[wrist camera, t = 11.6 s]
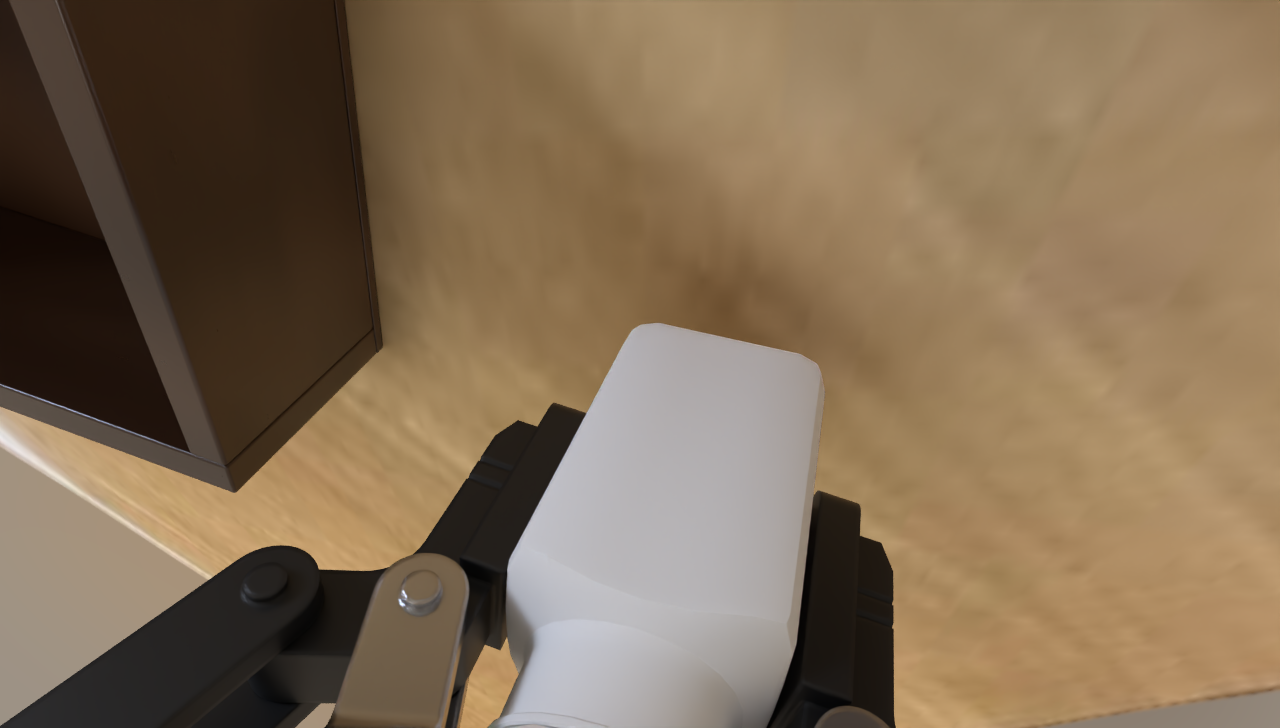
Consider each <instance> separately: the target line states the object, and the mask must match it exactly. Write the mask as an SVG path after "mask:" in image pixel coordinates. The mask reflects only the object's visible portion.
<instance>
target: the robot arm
mask: <svg viewBox="0 0 1280 728" xmlns="http://www.w3.org/2000/svg"><path fill="white" fill-rule="evenodd" d="M585 415H586V413H584V412H581V411H578V410H575V409H572V408H569V407H566V406H563V405H560V404H557V403H553V404H552V405H551V406H550V407H549V409H548V410H547V412H546V414H545V415H544V417H543V419H542V420H541V422H540V424H539V425H538V427H537V426H534V425H531V424H528V423H525V422H522V421H519V420H518V421H516V422H515V423H513V424H512V425H510V426H509V427H507V428H506V429H504V430H503V431H501V432H500V433H498V434H497V435H495V437H494V438H493V440H492V441H491V443H490V444H489V446H488V447H487V449H486V450H485V452H484V453H483V455H482V456H481V460H480V461H478V462H477V464H476V465H475V467H474V468H473V470H472V471H471V473H470V475H469V478H468V479H466V480H465V482H464V484H463V485H462V487H461V488H460V490H459V491H458V493H457V494H456V496H455V497H454V499H453V500H452V502H451V503H450V505H449V506H448V508H447V509H446V511H445V512H444V514H443V515H442V517H441V518H440V520H439V521H438V523H437V524H436V526H435V527H434V529H433V530H432V532H431V533H430V535H429V536H428V538H427V539H426V541H425V542H424V543H423V545H422V546H421V547H420V548H419V549H418V550H417V551H416V552H415V553H414V554H413V555H411V556H407V557H405V558H403V559H400V560H399V561H397V562H395V563H394V564H392V565H391V566H390V567H388V568H384V569H380V570H374V571H346V570H319V569H318V565H317V563H316V562H315V560H314V559H313V558H312V557H311V555H310V554H308V553H307V552H305V551H304V550H301V549H299V548H296V547H292V546H282V545H280V546H270V547H265V548H261V549H258V550H255V551H253V552H251V553H249V554H246V555H245V556H243V557H241V558H240V559H238V560H237V561H235V562H234V563H232V564H231V565H230V566H228V567H227V568H225V569H224V570H222V571H221V572H220V573H218V574H217V575H215V576H214V577H212V578H211V579H210V580H208V581H207V582H205V583H204V584H202V585H201V586H200V587H198V588H197V589H195V590H194V591H193V592H191V593H190V594H188V595H187V596H185V597H184V598H183V599H181V600H180V601H178V602H177V603H175V604H174V605H173V606H171V607H170V608H168V609H167V610H166V611H164V612H162V613H161V614H160V615H158V616H157V617H155V618H154V619H152V620H151V621H150V622H148V623H147V624H145V625H144V626H143V627H141V628H140V629H138V630H137V631H135V632H134V633H133V634H131V635H130V636H128V637H127V638H125V639H124V640H122V641H121V642H120V643H118V644H117V645H115V646H114V647H112V648H111V649H110V650H108V651H107V652H105V653H104V654H103V655H101V656H100V657H98V658H97V659H95V660H94V661H92V662H91V663H90V664H88V665H87V666H85V667H84V668H82V669H81V670H80V671H78V672H77V673H75V674H74V675H72V676H71V677H70V678H68V679H67V680H65V681H64V682H63V683H61V684H60V685H58V686H57V687H55V688H54V689H53V690H51V691H50V692H48V693H47V694H45V695H44V696H43V697H41V698H40V699H38V700H37V701H35V702H34V703H32V704H31V705H30V706H28V707H27V708H25V709H24V710H22V711H21V712H20V713H18V714H17V715H16V716H14V717H13V718H11V719H10V720H8V721H7V722H6V723H4V724H2V725H1V726H0V728H295V727H296V726H297V725H298V724H299V723H300V722H301V721H302V720H303V719H305V718H306V717H307V716H308V715H309V714H310V713H311V712H312V711H313V710H314V709H315V708H316V707H317V706H318V705H319V704H321V703H336V705H335V708H334V711H333V713H332V716H331V719H330V720H329V722H328V724H327V725H326V727H325V728H460V723H461V718H462V713H463V708H464V703H465V697H466V692H467V687H468V682H469V675H470V673H471V671H472V669H473V667H474V665H475V663H476V661H477V659H478V657H479V655H480V653H481V651H482V649H483V647H484V645H488V646H490V647H493V648H496V649H498V650H501V648H502V646H503V644H504V642H505V640H506V637H507V625H506V588H507V568H508V563H509V559H510V557H511V555H512V553H513V551H514V549H515V548H516V546H517V544H518V542H519V540H520V538H521V536H522V534H523V532H524V531H525V529H526V527H527V525H528V523H529V521H530V519H531V517H532V515H533V514H534V512H535V510H536V508H537V506H538V504H539V502H540V500H541V498H542V497H543V495H544V493H545V491H546V489H547V487H548V485H549V483H550V481H551V480H552V478H553V476H554V474H555V472H556V470H557V468H558V466H559V464H560V463H561V461H562V459H563V457H564V455H565V453H566V451H567V449H568V447H569V446H570V444H571V442H572V440H573V438H574V436H575V434H576V432H577V430H578V428H579V427H580V425H581V423H582V421H583V419H584V417H585ZM860 518H861V509H860V505H859V504H858V503H855V502H852V501H849V500H846V499H843V498H840V497H837V496H834V495H831V494H828V493H825V492H822V491H817V492H816V493H815V495H814V497H813V503H812V512H811V520H810V529H809V538H808V547H807V555H806V564H805V573H804V582H803V590H802V599H801V608H800V616H799V625H798V634H797V643H796V647H795V650H794V653H793V657H792V660H791V663H790V666H789V669H788V672H787V675H786V679H785V682H784V685H783V688H782V690H781V693H780V696H779V699H778V701H777V704H776V707H775V709H774V712H773V714H772V716H771V718H770V721H769V723H768V725H767V727H766V728H896V726H895V721H894V634H893V629H892V625H893V605H892V602H893V570H892V568H891V565H890V563H889V560H888V558H887V556H886V553H885V551H884V548H883V546H882V544H881V543H880V542H877V541H874V540H871V539H868V538H865V537H862V536H860Z"/></svg>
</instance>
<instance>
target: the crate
mask: <svg viewBox="0 0 1280 728" xmlns="http://www.w3.org/2000/svg"><path fill="white" fill-rule="evenodd" d="M381 349H382V339H381V330H380V321H379V312H378V303H377V294H376V286H375V277H374V268H373V259H372V250H371V241H370V232H369V223H368V214H367V205H366V196H365V188H364V179H363V170H362V161H361V152H360V143H359V134H358V125H357V116H356V107H355V98H354V89H353V81H352V72H351V63H350V54H349V45H348V36H347V27H346V18H345V9H344V0H0V407H3V408H6V409H8V410H11V411H14V412H17V413H19V414H22V415H25V416H27V417H30V418H33V419H35V420H38V421H41V422H44V423H46V424H49V425H52V426H54V427H57V428H60V429H63V430H65V431H68V432H71V433H73V434H76V435H79V436H82V437H84V438H87V439H90V440H92V441H95V442H98V443H100V444H103V445H106V446H109V447H111V448H114V449H117V450H119V451H122V452H125V453H128V454H130V455H133V456H136V457H138V458H141V459H144V460H147V461H149V462H152V463H155V464H157V465H160V466H163V467H166V468H168V469H171V470H174V471H176V472H179V473H182V474H184V475H187V476H190V477H193V478H195V479H198V480H201V481H203V482H206V483H209V484H212V485H214V486H217V487H220V488H222V489H225V490H228V491H231V492H233V493H235V492H237V491H238V490H239V489H240V488H241V487H242V486H243V485H244V484H245V483H246V482H247V481H248V480H249V479H250V478H251V477H252V476H253V475H254V474H255V473H256V472H257V471H258V470H259V469H260V468H261V467H262V466H263V465H264V464H265V463H266V462H267V461H268V460H269V459H270V458H271V457H272V456H273V455H274V454H275V453H276V452H277V451H278V450H279V449H280V448H281V447H282V446H283V445H284V444H285V443H286V442H287V441H288V440H289V439H291V438H292V437H293V436H294V435H295V434H296V433H297V432H298V431H299V430H300V429H301V428H302V427H303V426H304V425H305V424H306V423H307V422H308V421H309V420H310V419H311V418H312V417H313V416H314V415H315V414H316V413H317V412H318V411H319V410H320V409H321V408H322V407H323V406H324V405H325V404H326V403H327V402H328V401H329V400H330V399H331V398H332V397H333V396H334V395H335V394H336V393H337V392H338V391H339V390H340V389H341V388H342V387H343V386H344V385H345V384H346V383H347V382H348V381H349V380H350V379H351V378H352V377H353V376H354V375H355V374H356V373H357V372H358V371H359V370H360V369H361V368H362V367H363V366H364V365H365V364H366V363H367V362H368V361H369V360H370V359H371V358H372V357H373V356H374V355H375V354H376V353H378V352H379V351H380V350H381Z"/></svg>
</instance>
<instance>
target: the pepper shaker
mask: <svg viewBox="0 0 1280 728" xmlns="http://www.w3.org/2000/svg"><path fill="white" fill-rule="evenodd" d="M824 398H825V388H824V384H823V379H822V374H821V371H820V369H819V366H818V364H817V363H815V362H814V361H812V360H810V359H808V358H807V357H805V356H803V355H801V354H798V353H794V352H789V351H784V350H780V349H775V348H771V347H766V346H762V345H757V344H753V343H748V342H744V341H739V340H735V339H730V338H725V337H721V336H716V335H712V334H707V333H703V332H698V331H694V330H689V329H685V328H680V327H675V326H671V325H666V324H662V323H652V324H641V325H639V326H638V327H636V328H634V329H633V330H632V331H631V333H630V334H629V336H628V337H627V339H626V341H625V342H624V344H623V345H622V347H621V349H620V351H619V353H618V355H617V357H616V359H615V360H614V362H613V364H612V366H611V368H610V370H609V372H608V374H607V376H606V377H605V379H604V381H603V383H602V385H601V387H600V389H599V391H598V393H597V394H596V396H595V398H594V400H593V402H592V404H591V406H590V408H589V410H588V411H587V413H586V415H585V417H584V419H583V421H582V423H581V425H580V427H579V428H578V430H577V432H576V434H575V436H574V438H573V440H572V442H571V444H570V446H569V447H568V449H567V451H566V453H565V455H564V457H563V459H562V461H561V463H560V464H559V466H558V468H557V470H556V472H555V474H554V476H553V478H552V480H551V481H550V483H549V485H548V487H547V489H546V491H545V493H544V495H543V497H542V498H541V500H540V502H539V504H538V506H537V508H536V510H535V512H534V514H533V515H532V517H531V519H530V521H529V523H528V525H527V527H526V529H525V531H524V532H523V534H522V536H521V538H520V540H519V542H518V544H517V546H516V548H515V549H514V551H513V553H512V555H511V557H510V559H509V563H508V568H507V588H506V625H507V638H508V643H509V649H510V654H511V657H512V659H513V661H514V663H515V666H516V668H517V671H518V673H519V675H518V677H517V679H516V682H515V684H514V686H513V688H512V691H511V693H510V695H509V697H508V700H507V702H506V704H505V706H504V709H503V711H502V713H501V715H500V718H498V719H496V720H494V721H493V722H492V723H491V725H490V726H489V727H488V728H766V727H767V725H768V723H769V721H770V718H771V716H772V714H773V712H774V709H775V707H776V704H777V701H778V699H779V696H780V693H781V690H782V688H783V685H784V682H785V679H786V675H787V672H788V669H789V666H790V663H791V660H792V657H793V653H794V650H795V647H796V643H797V634H798V625H799V616H800V608H801V599H802V590H803V582H804V573H805V564H806V555H807V547H808V538H809V529H810V520H811V512H812V503H813V494H814V485H815V477H816V468H817V459H818V451H819V442H820V433H821V424H822V416H823V407H824Z"/></svg>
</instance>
